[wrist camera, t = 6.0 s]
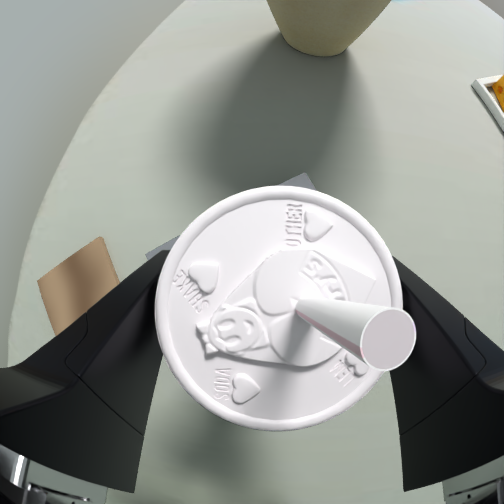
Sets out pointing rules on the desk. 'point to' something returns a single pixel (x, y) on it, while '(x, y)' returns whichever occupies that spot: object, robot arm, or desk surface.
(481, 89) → the tray
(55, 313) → the pad
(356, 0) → the plant pot
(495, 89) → the pipe clamp
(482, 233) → the desk surface
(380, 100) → the desk surface
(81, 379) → the robot arm
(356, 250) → the smoothie
